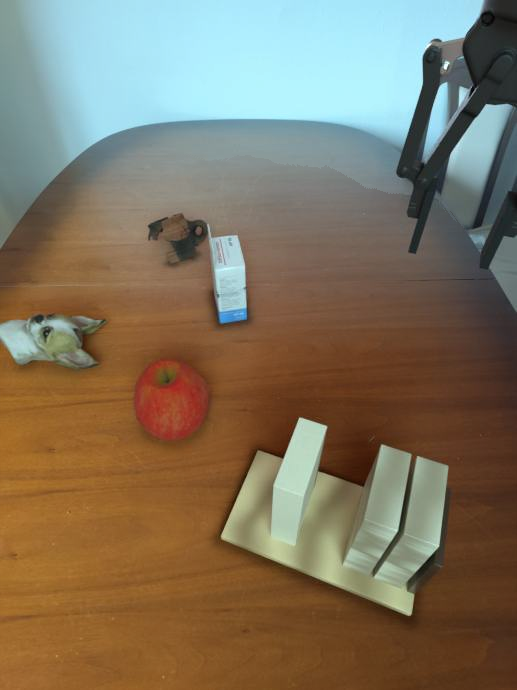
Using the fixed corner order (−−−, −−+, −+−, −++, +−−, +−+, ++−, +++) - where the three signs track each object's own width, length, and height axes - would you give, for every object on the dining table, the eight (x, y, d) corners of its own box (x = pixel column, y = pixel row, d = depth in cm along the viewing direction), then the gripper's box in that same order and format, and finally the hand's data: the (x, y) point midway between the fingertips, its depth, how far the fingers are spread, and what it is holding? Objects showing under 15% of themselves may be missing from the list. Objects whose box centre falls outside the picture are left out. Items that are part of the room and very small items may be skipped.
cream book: (315, 484, 57) (328, 425, 46) (295, 546, 52) (304, 496, 41) (291, 475, 58) (299, 416, 47) (269, 536, 53) (272, 485, 42)
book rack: (424, 512, 55) (466, 453, 44) (409, 616, 48) (455, 577, 37) (257, 453, 61) (257, 387, 49) (221, 539, 53) (210, 484, 42)
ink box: (247, 320, 77) (245, 250, 66) (219, 324, 77) (212, 254, 66) (240, 288, 83) (237, 218, 72) (213, 291, 82) (206, 221, 71)
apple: (215, 389, 68) (209, 342, 60) (207, 451, 61) (199, 407, 53) (147, 387, 68) (132, 340, 60) (132, 448, 61) (113, 405, 53)
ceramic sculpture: (-1, 292, 69) (100, 290, 70) (18, 331, 75) (110, 328, 77) (-23, 345, 62) (90, 341, 63) (1, 383, 68) (102, 378, 70)
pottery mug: (155, 270, 87) (138, 228, 84) (163, 260, 96) (148, 222, 93) (214, 251, 86) (199, 208, 83) (217, 243, 95) (203, 203, 92)
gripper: (741, -65, 27) (552, 252, 44) (418, -80, 31) (361, 213, 49) (787, -45, 22) (555, 301, 40) (399, -65, 27) (344, 253, 44)
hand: (448, 252), depth 44 cm, fingers open, 6 cm apart
